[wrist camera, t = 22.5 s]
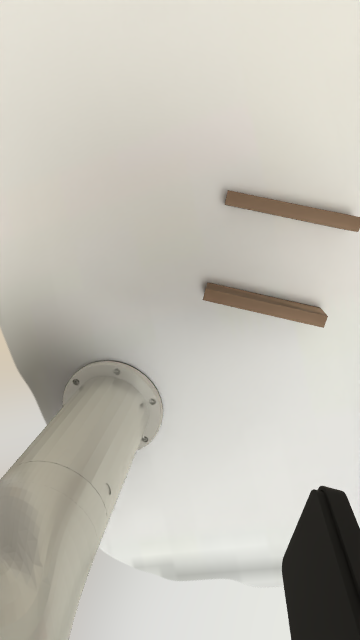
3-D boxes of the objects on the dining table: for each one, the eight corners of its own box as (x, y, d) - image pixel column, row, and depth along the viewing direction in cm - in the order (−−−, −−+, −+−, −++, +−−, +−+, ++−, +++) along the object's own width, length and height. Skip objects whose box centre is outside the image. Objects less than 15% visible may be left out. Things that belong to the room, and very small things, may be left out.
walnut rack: (316, 318, 36) (323, 327, 33) (205, 293, 37) (202, 299, 34) (351, 217, 32) (363, 218, 30) (228, 192, 33) (227, 190, 30)
